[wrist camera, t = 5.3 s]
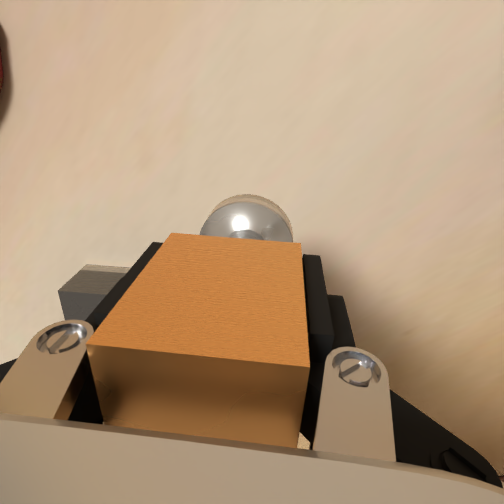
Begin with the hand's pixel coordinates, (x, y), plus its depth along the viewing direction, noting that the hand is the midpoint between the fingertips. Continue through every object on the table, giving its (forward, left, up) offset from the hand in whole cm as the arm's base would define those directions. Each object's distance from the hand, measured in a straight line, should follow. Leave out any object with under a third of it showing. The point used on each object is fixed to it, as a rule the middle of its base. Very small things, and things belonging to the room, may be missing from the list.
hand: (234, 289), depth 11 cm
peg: (0, 0, -4) cm, 4 cm away
